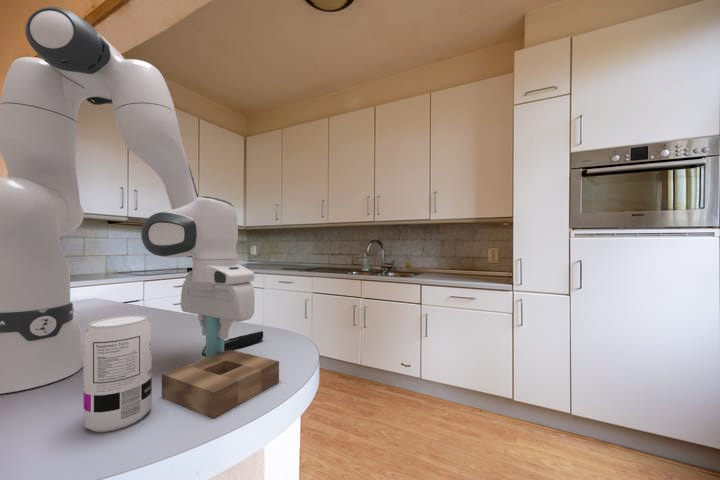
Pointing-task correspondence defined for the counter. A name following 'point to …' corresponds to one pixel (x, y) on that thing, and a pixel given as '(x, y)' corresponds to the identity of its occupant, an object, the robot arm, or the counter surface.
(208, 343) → the peg
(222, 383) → the socket block
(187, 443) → the counter surface
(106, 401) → the supplement can
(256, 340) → the electric trimmer
